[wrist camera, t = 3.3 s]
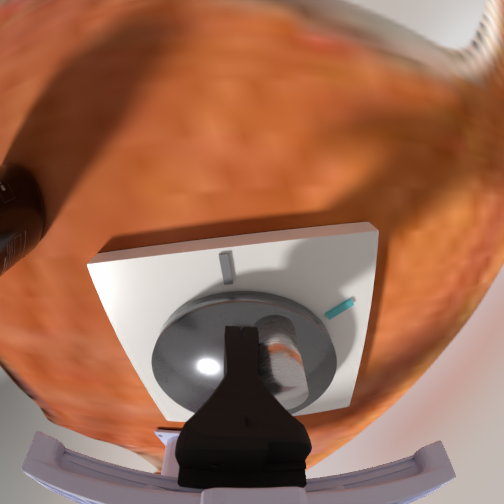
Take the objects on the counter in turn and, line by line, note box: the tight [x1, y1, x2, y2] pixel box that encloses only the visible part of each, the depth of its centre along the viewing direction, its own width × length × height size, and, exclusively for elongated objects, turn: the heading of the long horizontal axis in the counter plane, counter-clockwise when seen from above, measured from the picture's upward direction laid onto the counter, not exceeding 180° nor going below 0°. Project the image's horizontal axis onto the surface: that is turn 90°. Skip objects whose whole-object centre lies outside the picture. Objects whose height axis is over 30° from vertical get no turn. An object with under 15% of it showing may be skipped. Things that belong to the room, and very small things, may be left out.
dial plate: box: [87, 221, 379, 422], centre depth 19 cm, size 17×17×2 cm
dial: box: [151, 291, 337, 414], centre depth 15 cm, size 12×12×6 cm
